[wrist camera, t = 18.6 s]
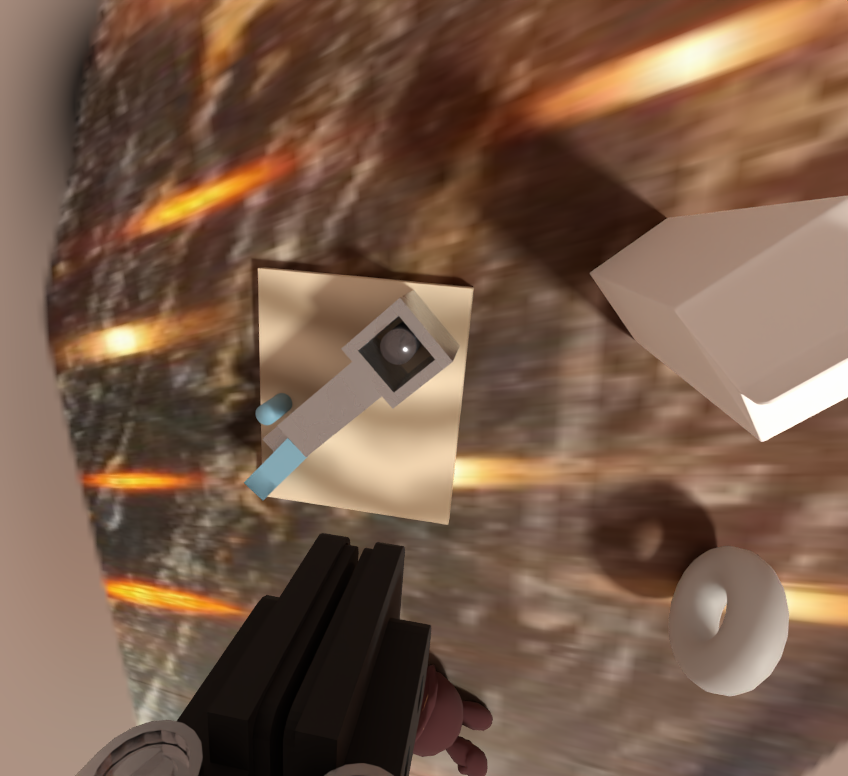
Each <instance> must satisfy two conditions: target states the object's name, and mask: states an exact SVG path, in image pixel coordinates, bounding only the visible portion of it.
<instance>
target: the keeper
mask: <svg viewBox="0 0 848 776" xmlns="http://www.w3.org/2000/svg"><path fill="white" fill-rule="evenodd" d="M291 408H292V400H291V398H290V397H289V396H288V395H287V394H285V393H279V394H277V395H275V396H274V397H272V398H271V399H269V400H268V401H266V402H265V403H263V404H262V405H261V406H259V407H258V408H257V410H256V418H257V420H258V421H259V422H260V423H261V424H263V425H271V424H273V423H274V422H275V421H276V420H278V419H279V418H280V417H282V416H283V415H284V414H285V413H287V412H288V411H289V410H290V409H291ZM308 456H309V455H308ZM308 456H307V457H308ZM307 457H305V456H304V455H303V454H302V453H301V451H300V450H299V449H298V448H297V447H296V446H295V445H294V444H293V443H292V441H291V440H290V439H289V438H287V439H286V440H285V441H284V442H283V443H282V444H281V445H280V446H279V447H278V449H277V450H276V451H275V452H274V453H273V454H272V455H271V456H270V457H269V458H268V459H267V460H266V461H265V462H264V463H263V464H262V465H261V466H260V467H259V468H258V469H257V470H256V471H255V472H254V473H253V474H252V475H251V476H250V477H249V478H248V479H247V480H246V481H245V482H244V483H245V484H246V485H247V486H248V487H249V488H250V489H251V490H252V491H253V492H254V493H255V494H256V495H258V496H259V497H260V498H261V499H262V500H264V499H265V498H266V497H267V496H268V495H269V494H270V493H271V492H272V491H273V490H274V489H275V488H276V487H277V486H278V485H279V484H280V483H281V482H282V481H284V480H285V479H286V478H287V477H288V476H289V475H290V474H291V473H292V472H293V471H294V470H295V469H296V468H297V467H298V466H299V465H300V464H301V463H302V462H303V461H304V460H305V459H306V458H307Z"/></svg>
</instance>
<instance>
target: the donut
mask: <svg viewBox="0 0 848 776" xmlns="http://www.w3.org/2000/svg"><path fill="white" fill-rule="evenodd" d="M726 604H727V608H726V614H725V617H724V621H723V624H722V625H721V627H720V629H719V622H720V617H721V614H722V611H723V609H724V607H725V605H726ZM788 623H789V611H788V606H787V600H786V595H785V591H784V588H783V586H782V584H781V582H780V580H779V578H778V576H777V575H776V573H775V571H774V570H773V569H772V567H771V566H770V565H769V564H767V563H766V562H765V561H764V560H763V559H762V558H760V557H759V556H758V555H757V554H755V553H753V552H752V551H749V550H745V549H741V548H737V547H733V546H723V547H718V548H714V549H710V550H708V551H706V552H705V553H703V554H702V555H700V556H699V557H697V558H696V559H695V560H694V561H693V562H692V563H691V564H690V565H689V566H688V568H687V569H686V570H685V571H684V573H683V575H682V577H681V579H680V580H679V582H678V584H677V586H676V589H675V592H674V595H673V598H672V601H671V607H670V613H669V639H670V643H671V647H672V651H673V654H674V657H675V659H676V661H677V662H678V664H679V666H680V668H681V669H682V671H683V672H684V674H685V675H686V676H687V677H688V678H689V679H690V680H692V681H693V682H694V683H695V684H697V685H698V686H699V687H701V688H702V689H704V690H705V691H707V692H711V693H715V694H720V695H726V696H734V695H739V694H742V693H745V692H748V691H751V690H753V689H754V688H756V687H757V686H758V685H759V684H760V683H761V682H763V681H764V680H765V679H766V678H767V677H768V676H770V675H771V673H772V671H773V670H774V668H775V666H776V665H777V663H778V662H779V660H780V658H781V656H782V653H783V650H784V646H785V643H786V640H787V636H788Z"/></svg>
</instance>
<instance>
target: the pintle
mask: <svg viewBox="0 0 848 776" xmlns="http://www.w3.org/2000/svg"><path fill="white" fill-rule="evenodd" d="M421 346H422V343H421V342H420V341H419V339H418V338H417V337H416V336H415V335H414V333H413V332H412V331H411V330H410V329H409V327H408V326H407V325H406V324H405V323H404V321H402V322H401V323H399V324H398V325H397V326H396V327H394V328H393V329H392V330H391V331H389V332H388V333H387V334H386V335H385V336H384V337H383V338H382V340H381V344H380V349H381V353H382V355H383V357H384V358H385V359H386V360H387V361H388V362H390V363H392V364H396V365H400V364H404V363H406V362H408V361H409V360H410V359H411V358H412V357H413V356H414V354H415V353H416V352H417V351H418V349H419V348H420V347H421Z"/></svg>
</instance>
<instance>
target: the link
mask: <svg viewBox="0 0 848 776" xmlns="http://www.w3.org/2000/svg"><path fill="white" fill-rule="evenodd" d="M399 317H400V318H401V319H402V320H403V321H404V323H405V324H406V325H407V326H408V327H409V329H410V330H411V331H412V332H413V333H414V335H415V336H416V337H417V338H418V339H419V341H420V342H421V343H422V344H423V345H424V347H425V348H426V349H427V350H428V351H429V353H430V354H431V355H430V356H429V357H428V358H427V359H425V360H424V361H423V362H422V363H420V364H419V365H418V366H417V367H415V368H414V369H413V370H412V371H410V372H409V373H407V372H406V370H405V369H404V368H403V367H402V366H401V364H400V365H396V364H392V363H390V362H388V361H387V360H386V359H385V358H384V357H383V355H382V353H381V349H380V344H381V341H380V340H379V338H378V337H377V336H378V335H379V334H380V333H382V332H383V331H384V330H385V329H386V328H387V327H389V326H390V325H391V324H392V323H393V322H394V321H396V320H397V319H398V318H399ZM459 347H460V345H459V344H458V343H457V341H456V340H455V339H454V338H453V337H452V335H451V334H450V333H449V332H448V330H447V329H446V328H445V327H444V326H443V324H442V323H441V322H440V321H439V320H438V318H437V317H436V316H435V315H434V313H433V312H432V311H431V310H430V309H429V307H428V306H427V305H426V304H425V302H424V301H423V300H422V299H421V298H420V296H419V295H418V294H417V293H416V292H415V290H413V291H411V292H409V293H407V294H406V295H404V296H402V297H400V298H399V299H398V300H397V301H395V302H394V303H393V304H392V305H391V306H390V307H389V308H387V309H386V310H385V311H384V312H383V313H382V314H381V315H379V316H378V317H377V318H376V319H375V320H374V321H372V322H371V323H370V324H369V325H368V326H367V327H366V328H364V329H363V330H362V331H361V332H360V333H359V334H358V335H356V336H355V337H354V338H353V339H352V340H351V341H350V342H348V343H347V344H346V345H345V346H344V347H343V348H341V349H342V350H343V352H344V353H345V354H346V355H347V356H348V357H349V359H350V360H351V361H352V362H351V363H350V364H349V365H348V366H347V367H345V368H344V369H343V370H342V371H341V372H340V373H338V374H337V375H336V376H335V377H334V378H332V379H331V380H330V381H329V382H328V383H327V384H325V385H324V386H323V387H322V388H321V389H320V390H318V391H317V392H316V393H315V394H314V395H313V396H311V397H310V398H309V399H308V400H307V401H305V402H304V403H303V404H302V405H301V406H300V407H298V408H297V409H296V410H295V411H294V412H293V413H291V414H290V415H289V416H288V417H287V418H285V419H284V420H283V421H282V422H281V423H280V424H278V425H277V427H276V428H275V429H273V430H272V431H271V432H270V433H269V434H268V435H266V436H265V437H264V438H263V441H264V442H265V443H266V444H267V445H268V446H269V447H270V448H271V449H272V450H273V452H275V451H276V450H277V449H278V447H279V446H280V445H281V444H282V443H283V442H284V441H285V440H286V439H287V438H289V439H290V440H291V441H292V443H293V444H294V445H295V446H296V447H297V448H298V449H299V450H300V451H301V453H302V454H303V455H304V456H305V457H307V456H308V455H310V454H311V453H312V452H313V451H315V450H316V449H317V448H318V447H320V446H321V445H322V444H323V443H325V442H326V441H327V440H328V439H329V438H331V437H332V436H333V435H334V434H336V433H337V432H338V431H339V430H341V429H342V428H343V427H344V426H346V425H347V424H348V423H349V422H351V421H352V420H353V419H354V418H356V417H357V416H358V415H359V414H361V413H362V412H363V411H364V410H366V409H367V408H368V407H369V406H371V405H372V404H373V403H374V402H376V401H377V400H378V399H379V398H381V397H383V398H384V399H385V400H386V402H387V403H388V404H389V405H390V406H391V407H392V409H393V408H395V407H396V406H397V405H398V404H400V403H401V402H402V401H404V400H405V399H406V398H407V397H409V396H410V395H411V394H412V393H414V392H415V391H416V390H418V389H419V388H420V387H421V386H423V385H424V384H425V383H426V382H428V381H429V380H430V379H432V378H433V377H434V376H435V375H437V374H438V373H439V372H440V371H442V370H443V369H444V368H446V367H447V366H448V365H449V364H451V363H452V362H453V360H454V358H455V356H456V354H457V351H458V349H459Z"/></svg>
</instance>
